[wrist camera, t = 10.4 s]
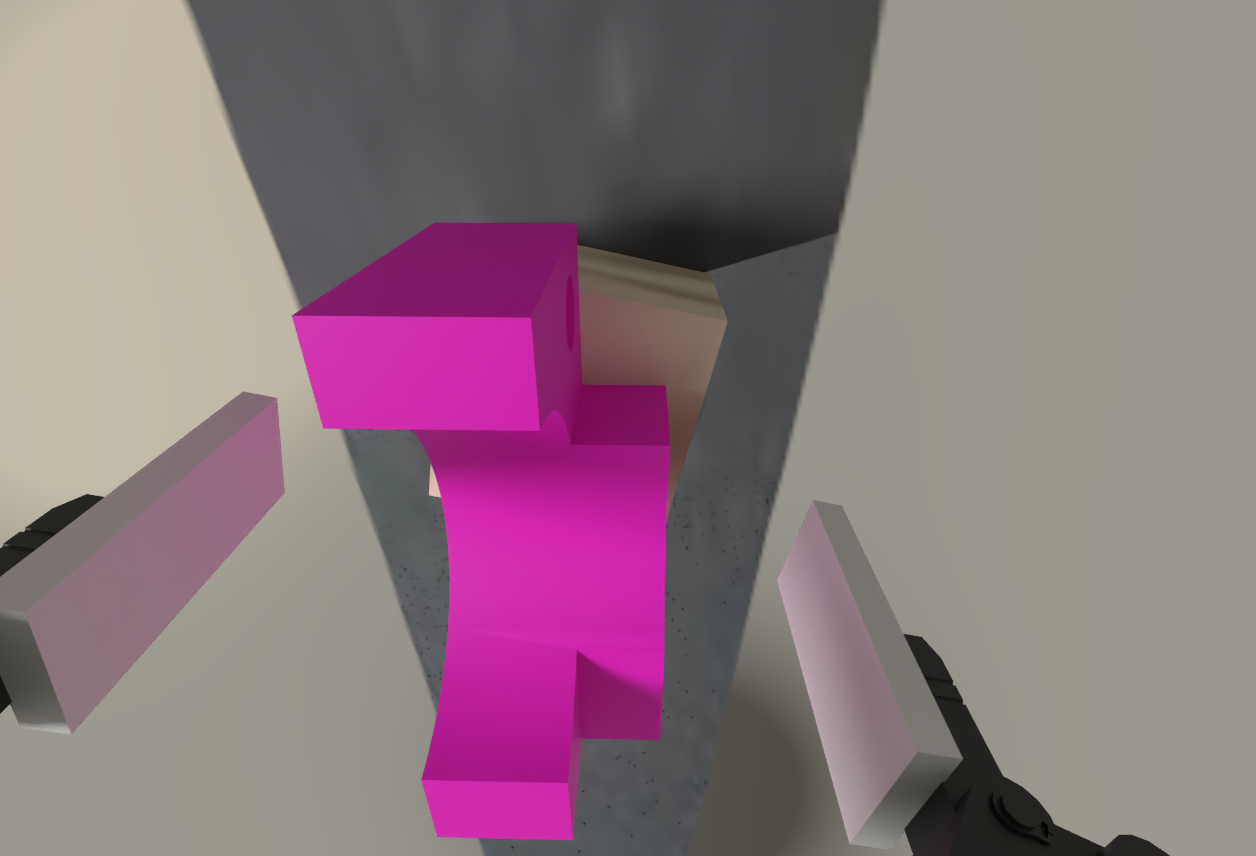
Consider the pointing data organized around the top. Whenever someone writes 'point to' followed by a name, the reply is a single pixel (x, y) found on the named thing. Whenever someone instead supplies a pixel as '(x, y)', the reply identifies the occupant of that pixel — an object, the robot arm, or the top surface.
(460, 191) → the top surface
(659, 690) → the toy block
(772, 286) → the top surface
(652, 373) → the riser
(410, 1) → the top surface
